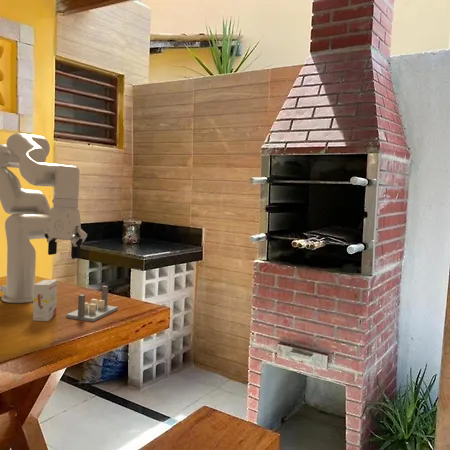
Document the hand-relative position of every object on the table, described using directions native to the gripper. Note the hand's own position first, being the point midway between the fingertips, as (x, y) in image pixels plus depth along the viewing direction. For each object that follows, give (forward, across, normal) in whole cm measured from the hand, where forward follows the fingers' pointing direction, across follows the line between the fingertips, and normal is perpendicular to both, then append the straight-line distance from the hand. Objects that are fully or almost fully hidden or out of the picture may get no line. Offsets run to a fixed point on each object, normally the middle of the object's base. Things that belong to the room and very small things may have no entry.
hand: (63, 256), depth 150 cm
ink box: (+20, -4, -3) cm, 21 cm away
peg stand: (+20, +6, +9) cm, 23 cm away
